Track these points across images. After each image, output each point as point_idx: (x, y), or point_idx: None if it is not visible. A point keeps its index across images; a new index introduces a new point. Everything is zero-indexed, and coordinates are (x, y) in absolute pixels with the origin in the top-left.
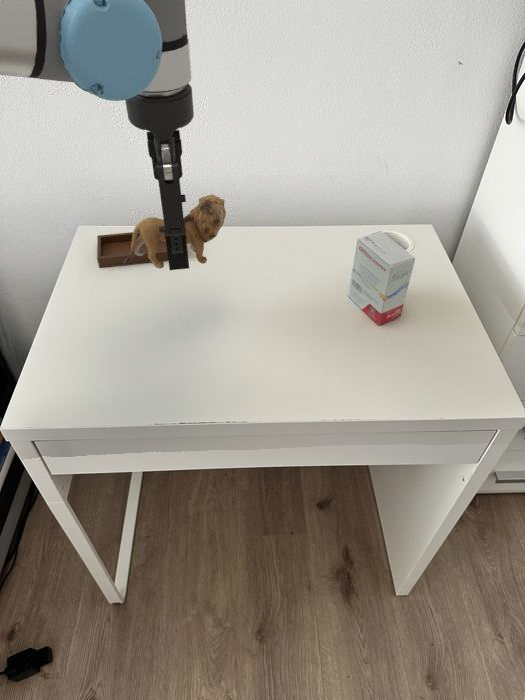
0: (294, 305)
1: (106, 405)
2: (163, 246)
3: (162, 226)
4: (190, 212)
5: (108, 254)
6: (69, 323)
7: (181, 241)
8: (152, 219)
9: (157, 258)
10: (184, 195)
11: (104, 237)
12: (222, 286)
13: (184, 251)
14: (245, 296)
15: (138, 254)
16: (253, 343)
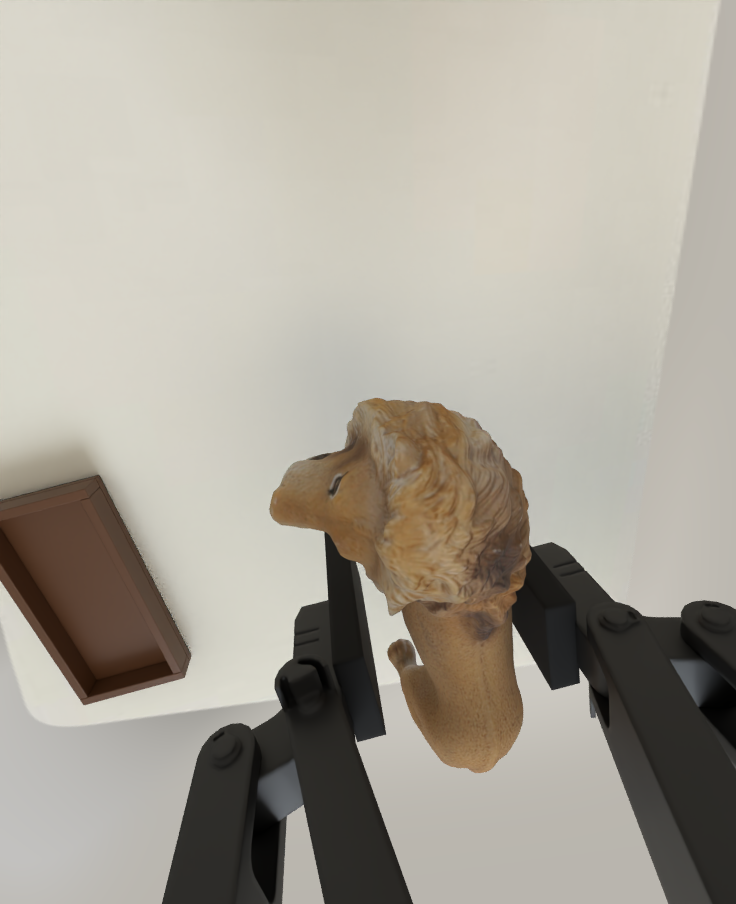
0: (266, 92)
1: (598, 530)
2: (62, 543)
3: (590, 705)
4: (472, 616)
5: (139, 655)
6: (384, 650)
7: (595, 581)
8: (486, 746)
9: (128, 547)
10: (281, 686)
11: (85, 689)
12: (208, 350)
13: None
14: (244, 273)
15: (415, 655)
16: (443, 238)
